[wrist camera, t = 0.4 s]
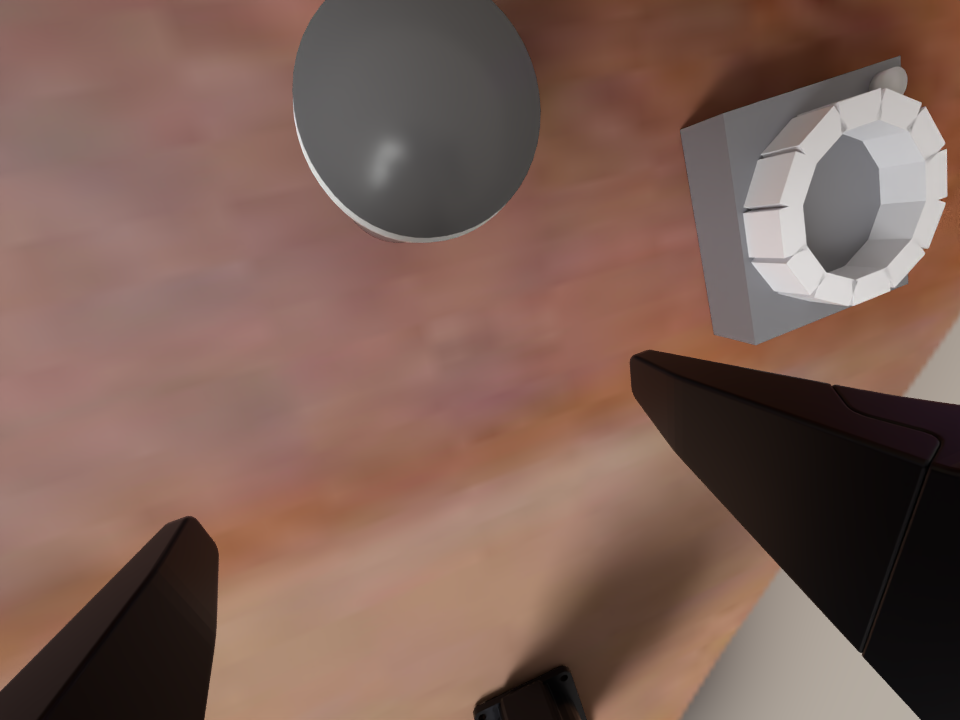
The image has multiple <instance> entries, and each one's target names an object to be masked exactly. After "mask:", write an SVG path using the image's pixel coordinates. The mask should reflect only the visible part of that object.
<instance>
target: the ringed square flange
mask: <svg viewBox="0 0 960 720" xmlns="http://www.w3.org/2000/svg"><path fill="white" fill-rule="evenodd" d="M906 87H907V74H906V72H905V70H904V69H903V68H901V59H900V56H898V57H895V58H892V59H889V60H886V61H883V62H879V63H876V64H873V65H870V66H867V67H864V68H861V69H858V70H855V71H852V72H849V73H846V74H843V75H839V76H836V77H833V78H830V79H827V80H824V81H821V82H818V83H815V84H812V85H809V86H806V87H803V88H800V89H796V90H793V91H790V92H787V93H784V94H781V95H778V96H775V97H772V98H769V99H766V100H763V101H760V102H756V103H753V104H750V105H747V106H744V107H741V108H738V109H735V110H732V111H729V112H726V113H723V114H720V115H718V116H715V117H712V118H710V119H707V120H705V121H702V122H699V123H697V124H694V125H691V126H689V127H686V128H684V129H681V130H680V133H681V139H682V145H683V151H684V157H685V163H686V169H687V175H688V181H689V187H690V193H691V199H692V205H693V211H694V217H695V223H696V229H697V235H698V241H699V247H700V253H701V259H702V265H703V271H704V277H705V283H706V289H707V295H708V301H709V307H710V313H711V319H712V325H713V331H714V335H718V336H722V337H726V338H730V339H734V340H738V341H741V342H745V343H749V344H753V345H757V344H760V343H762V342H765V341H767V340H770V339H772V338H774V337H777V336H779V335H782V334H784V333H787V332H789V331H792V330H794V329H797V328H799V327H802V326H804V325H807V324H809V323H812V322H814V321H817V320H819V319H822V318H824V317H827V316H829V315H831V314H834V313H836V312H839V311H841V310H844V309H846V308H849V307H851V306H854V305H857V304H859V303H862V302H864V301H867V300H869V299H872V298H874V297H877V296H879V295H882V294H884V293H887V292H889V291H891V290H893V289H896V288H898V287H901V286H903V285H906V284H908V273H909V271H910V270H911V269H912V268H913V267H914V266H915V265H916V264H917V263H918V261H919V260H920V259H921V258H922V257H923V256H924V255H925V252H924V251H923V249H922V248H929V246H930V243H931V241H932V238H933V236H934V233H935V230H936V228H937V225H938V223H939V220H940V217H941V215H942V212H943V209H944V207H945V204H946V203H945V202H942V201H939V199H942V198H945V197H947V149H945V150H940V149H941V148H942V147H943V146H944V145H945V142H944V140H943V138H942V136H941V134H940V132H939V130H938V129H937V127H936V125H935V123H934V121H933V119H932V117H931V115H930V114H929V112H928V110H927V108H926V106H925V107H921V104H922V103H921V102H919V101H916V100H914V99H911V98H909V97H907V96H904V95H903V94H904V92H905V90H906ZM920 107H921V108H920Z"/></svg>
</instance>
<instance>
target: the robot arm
mask: <svg viewBox="0 0 960 720" xmlns="http://www.w3.org/2000/svg"><path fill="white" fill-rule="evenodd" d="M630 374H631V387H632V392H633V395H634V397H635V399H636V400H637V401H638V403H639V404H640V406H641V407H642V408H643V410H644V411H645V412H646V414H647V415H648V416H649V418H650V419H651V421H652V422H653V423H654V425H655V426H656V427H657V429H658V430H659V431H660V433H661V434H662V436H663V437H664V438H665V440H666V441H667V442H668V444H669V445H670V446H671V448H672V449H673V450H674V451H675V453H676V454H677V455H678V456H679V457H680V458H681V459H682V461H683V462H684V463H685V464H686V465H687V466H688V467H689V468H690V469H691V470H692V471H693V472H694V474H695V475H696V476H697V477H698V478H699V479H700V480H701V481H702V482H703V483H704V484H705V485H706V487H707V488H708V489H709V490H710V491H711V492H712V493H713V494H714V495H715V496H716V497H717V499H718V500H719V501H720V502H721V503H722V504H723V505H724V506H725V507H726V508H727V509H728V510H729V512H730V513H731V514H732V515H733V516H734V517H735V518H736V519H737V520H738V521H739V522H740V523H741V525H742V526H743V527H744V528H745V529H746V530H747V531H748V532H749V533H750V534H751V535H752V536H753V538H754V539H755V540H756V541H757V542H758V543H759V544H760V545H761V546H762V547H763V548H764V550H765V551H766V552H767V553H768V554H769V555H770V556H771V557H772V558H773V559H774V560H775V561H776V563H777V564H778V565H779V566H780V567H781V568H782V569H783V570H784V571H785V572H786V573H787V574H788V576H789V577H790V578H791V579H792V580H793V581H794V582H795V583H796V584H797V585H798V586H799V587H800V589H801V590H802V591H803V592H804V593H805V594H806V595H807V596H808V597H809V598H810V599H811V600H812V602H813V603H814V604H815V605H816V606H817V607H818V608H819V609H820V610H821V611H822V612H823V614H824V615H825V616H826V617H827V618H828V619H829V620H830V621H831V622H832V623H833V624H834V626H835V627H836V628H837V629H838V630H839V631H840V632H841V633H842V634H843V635H844V636H845V637H846V638H847V640H849V642H850V643H851V644H852V645H853V646H854V647H855V648H856V649H857V650H858V651H859V652H860V653H862V656H863V657H864V659H865V660H866V661H867V662H868V663H869V664H870V665H871V666H872V667H873V668H874V669H875V670H876V672H877V673H878V674H879V675H880V676H881V677H882V678H883V679H884V680H885V681H886V682H887V684H888V685H889V686H890V687H891V688H892V689H893V690H894V691H895V692H896V693H897V694H898V695H899V697H900V698H901V699H902V700H903V701H904V702H905V703H906V704H907V705H908V706H909V707H910V708H911V710H912V711H913V712H914V713H915V714H916V715H917V716H918V717H919V718H920V719H921V720H960V405H956V404H949V403H942V402H935V401H928V400H922V399H914V398H908V397H901V396H895V395H889V394H883V393H878V392H872V391H866V390H860V389H855V388H850V387H845V386H840V385H833V386H831V384H828V383H823V382H818V381H813V380H807V379H802V378H797V377H791V376H786V375H781V374H775V373H770V372H765V371H760V370H754V369H749V368H744V367H738V366H733V365H728V364H723V363H717V362H712V361H707V360H701V359H696V358H691V357H686V356H680V355H675V354H670V353H664V352H659V351H654V350H646V351H643V352H641V353H638V354H635V355H633V356H632V357H631V359H630ZM218 566H219V553H218V549H217V546H216V544H215V542H214V541H213V540H212V538H211V537H210V536H209V534H208V533H207V532H206V530H205V529H204V528H203V527H202V525H201V524H200V523H199V521H198V520H197V519H196V518H194V517H192V516H186V517H183V518H180V519H178V520H175V521H172V522H169V523H168V524H166V525H165V526H164V527H163V528H162V529H161V530H160V531H159V532H158V533H157V534H156V535H155V536H154V537H153V538H152V539H151V540H150V541H149V542H148V543H147V544H146V545H145V546H144V547H143V548H142V549H141V550H140V551H139V552H138V553H137V554H136V555H135V556H134V557H133V558H132V559H131V560H130V561H129V562H128V563H127V564H126V565H125V566H124V567H123V568H122V569H121V570H120V571H119V572H118V573H117V574H116V575H115V576H114V577H113V578H112V579H111V580H110V581H109V582H108V583H107V584H106V585H105V586H104V587H103V588H102V589H101V590H100V591H99V592H98V593H97V594H96V595H95V596H94V597H93V598H92V599H91V600H90V601H89V602H88V603H87V604H86V605H85V606H84V607H83V608H82V609H81V610H80V611H79V612H78V613H77V614H76V616H75V617H74V618H73V619H72V620H71V621H70V622H69V623H68V624H67V625H66V626H65V627H64V628H63V629H62V630H61V631H60V632H59V633H58V634H57V635H56V636H55V637H54V638H53V639H52V640H51V641H50V642H49V643H48V644H47V645H46V646H45V647H44V648H43V649H42V650H41V651H40V652H39V653H38V654H37V655H36V656H35V657H34V658H33V659H32V660H31V661H30V662H29V663H28V664H27V665H26V666H25V667H24V668H23V669H22V670H21V671H20V672H19V673H18V674H17V675H16V676H15V677H14V678H13V679H12V680H11V681H10V682H9V683H8V684H7V685H6V686H5V687H4V688H3V689H2V690H1V691H0V720H204V718H205V711H206V704H207V697H208V690H209V683H210V676H211V669H212V662H213V655H214V648H215V639H216V628H217V601H218ZM473 715H474V720H587V719H586V716H585V713H584V710H583V707H582V704H581V701H580V698H579V695H578V693H577V690H576V687H575V684H574V681H573V678H572V675H571V673H570V671H569V669H568V667H566V666H561V667H558V668H556V669H554V670H552V671H550V672H548V673H546V674H544V675H542V676H540V677H537V678H535V679H533V680H531V681H529V682H527V683H525V684H523V685H521V686H519V687H517V688H514V689H512V690H510V691H508V692H506V693H504V694H502V695H500V696H498V697H496V698H493V699H491V700H489V701H487V702H485V703H483V704H481V705H479V706H477V707H476V708H475V709H474V711H473Z"/></svg>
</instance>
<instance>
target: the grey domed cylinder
mask: <svg viewBox="0 0 960 720" xmlns="http://www.w3.org/2000/svg"><path fill="white" fill-rule="evenodd" d="M293 108H294V120H295V125H296V130H297V135H298V139H299V142H300V145H301V148H302V151H303V154H304V156H305V158H306V160H307V163H308V165H309V167H310V169H311V171H312V173H313V174H314V176H315V177H316V179H317V181H318V182H319V184H320V185H321V187H322V188H323V189H324V190H325V192H326V193H327V194H328V195H329V197H330V198H331V199H332V200H333V201H334V203H335V204H336V205H337V206H338V207H339V208H340V209H341V210H342V211H343V212H344V213H346V214H347V215H348V216H349V217H351V218H352V219H353V221H354V222H355V223H356V224H357V225H358V226H359V227H360V228H361V229H363V230H364V231H365V232H366V233H368V234H370V235H372V236H373V237H376V238H378V239H380V240H384V241H387V242H394V243H403V242H411V243H429V242H438V241H445V240H449V239H453V238H456V237H459V236H462V235H464V234H467V233H469V232H471V231H473V230H475V229H477V228H478V227H480V226H482V225H483V224H485V223H486V222H487V221H489V220H490V219H491V218H492V217H494V216H495V215H496V214H497V213H498V212H499V211H500V210H501V209H502V208H503V207H504V206H505V205H506V203H507V202H508V201H509V200H510V199H511V198H512V196H513V195H514V194H515V192H516V191H517V190H518V188H519V187H520V185H521V183H522V182H523V180H524V178H525V176H526V175H527V172H528V170H529V168H530V165H531V163H532V160H533V157H534V154H535V150H536V147H537V143H538V136H539V130H540V112H541V110H540V97H539V90H538V84H537V79H536V75H535V72H534V68H533V65H532V62H531V59H530V57H529V54H528V52H527V50H526V47H525V45H524V43H523V41H522V40H521V38H520V36H519V34H518V33H517V31H516V29H515V28H514V26H513V25H512V24H511V22H510V21H509V19H508V18H507V17H506V15H505V14H504V13H503V12H502V11H501V10H500V9H499V8H498V7H497V6H496V4H495V3H494V2H493V1H492V0H325V2H324V3H323V4H322V5H321V6H320V7H319V9H318V10H317V12H316V13H315V15H314V16H313V17H312V19H311V20H310V22H309V24H308V26H307V28H306V30H305V32H304V34H303V37H302V40H301V43H300V46H299V49H298V52H297V56H296V61H295V66H294V72H293Z"/></svg>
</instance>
